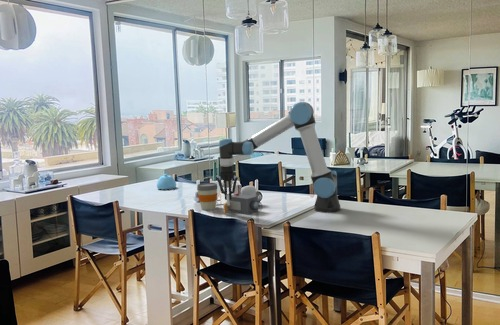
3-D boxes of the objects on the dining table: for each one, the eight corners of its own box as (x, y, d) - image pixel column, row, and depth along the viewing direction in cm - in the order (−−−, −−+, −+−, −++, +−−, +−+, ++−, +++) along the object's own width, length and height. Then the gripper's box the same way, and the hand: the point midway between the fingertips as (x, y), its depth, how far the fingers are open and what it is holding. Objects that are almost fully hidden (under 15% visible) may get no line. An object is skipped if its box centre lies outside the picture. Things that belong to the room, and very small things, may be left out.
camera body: (261, 211, 278) (260, 194, 277) (251, 214, 271) (250, 197, 270) (237, 207, 290) (237, 192, 289) (227, 211, 283) (227, 194, 282)
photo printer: (253, 203, 301) (252, 184, 299) (257, 204, 297) (256, 185, 296) (240, 205, 295) (239, 186, 294) (243, 207, 292) (242, 187, 290)
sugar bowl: (170, 186, 379) (169, 172, 378) (180, 188, 368) (179, 173, 366) (153, 188, 370) (152, 174, 368) (163, 191, 358) (162, 176, 357)
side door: (225, 214, 271) (225, 204, 271) (223, 214, 272) (223, 204, 271) (229, 209, 282) (228, 200, 281) (227, 209, 282) (227, 200, 281)
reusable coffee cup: (221, 206, 297) (220, 182, 295) (214, 210, 285) (213, 186, 283) (202, 205, 300) (201, 182, 298) (195, 210, 288) (193, 186, 286)
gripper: (238, 164, 275) (240, 203, 278) (216, 164, 277) (218, 203, 280) (236, 166, 268) (238, 206, 271) (214, 166, 269) (216, 206, 272)
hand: (228, 205), depth 275 cm, fingers closed
